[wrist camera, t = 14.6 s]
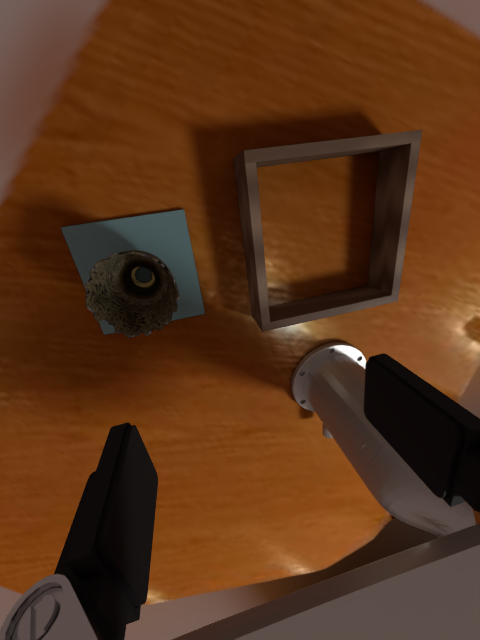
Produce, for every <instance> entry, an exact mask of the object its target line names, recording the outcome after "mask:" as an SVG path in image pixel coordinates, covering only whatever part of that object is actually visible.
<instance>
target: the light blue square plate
mask: <svg viewBox="0 0 480 640" xmlns="http://www.w3.org/2000/svg"><path fill="white" fill-rule="evenodd" d="M61 230H62V232H63V235H64V237H65V240H66V242H67V244H68V247H69V249H70V252H71V254H72V257H73V259H74V262H75V264H76V267H77V269H78V272H79V274H80V277H81V279H82V282H83V284H84V285H85V284H86V281H87V280H88V279H89V278H90V277H89V271H90V270H91V269H92V268H93V267H94V265H95V263H96V262H98V261H99V260H101V259H103V258H105V257H108V256H109V255H110V254H112V253H118V252H123V251H130V250H139V251H145V252H148V253H151V254H153V255H155V256H157V257H158V258H159V259H161V260H162V261H163V262H164V263H165V264H166V265H167V267H168V268H169V269H170V271H171V273H172V275H173V276H174V278H175V281H176V284H177V286H178V289H179V294H180V297H179V300H178V303H177V306H178V310H177V312H176V313H174V312H173V317H172V320H171V321H173V320H178V319H182V318H187V317H192V316H197V315H202V314H205V311H204V306H203V301H202V296H201V291H200V286H199V281H198V277H197V272H196V267H195V262H194V257H193V252H192V247H191V242H190V237H189V233H188V228H187V223H186V218H185V213H184V209H183V210H176V211H170V212H163V213H156V214H149V215H142V216H135V217H128V218H121V219H115V220H108V221H101V222H94V223H87V224H80V225H73V226H66V227H61ZM151 276H152V275H151V272H150V271H149V270H148V269H146V268H140V269H138V270H137V272H136V278H137V279H138V280H139V281H140V282H148V281H150V279H151ZM86 291H87V289H86ZM99 324H100V326H101V329H102V331H103V334H104V335H106V334H110V333H115V329H114V326H112V325H108V323H107V322H106V321H105V320H103V321H101V322H99Z"/></svg>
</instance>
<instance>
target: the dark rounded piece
mask: <svg viewBox="0 0 480 640" xmlns="http://www.w3.org/2000/svg"><path fill="white" fill-rule="evenodd" d="M140 268H146V269H148V270H149V271H150V272H151V275H152V276H151V279H150V281H148V282H140V281H139V280H138V279H137V278H136V272H137V270H138V269H140ZM89 277H90V278H89V279H88V280H87V281H86V284H85V285H84V288H85V289H87V294H86V296H85V302H86V307H87V308H88V309H89V310H90V311H91V312H92V313H93V314H94V318H95V320H96V321H97V322H101V321H103V320H105V321H106V322H107V323H108V325H112V326H114V329H115V333H117V334H120V333H121V332H123V333H124V334H125V335H126V336H127V337H129V338H132V337H135V336H137V335H139V334H140V333H144V334H145V335H146V336H148V335H150V334H151V333H152V330H153V329H156V330H157V329H158V330H161V329H163V327H164V325H166V324H169V323H170V322H171V320H172V317H173V312H174V313H176V312H177V310H178V306H177V303H178V300H179V297H180V294H179V289H178V286H177V284H176V281H175V278H174V276H173V275H172V273H171V271H170V269H169V268H168V267H167V265H166V264H165V263H164V262H163V261H162V260H161V259H159V258H158V257H157V256H155V255H153V254H151V253H148V252H145V251H139V250H130V251H123V252H118V253H112V254H110V255H109V256H108V257H105V258H103V259H101V260H99V261H98V262H96V263H95V265H94V267H93V268H92V269H91V270H90V271H89Z"/></svg>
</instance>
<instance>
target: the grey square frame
mask: <svg viewBox="0 0 480 640" xmlns="http://www.w3.org/2000/svg"><path fill="white" fill-rule="evenodd" d="M421 134H422V130H417V131H408V132H399V133H391V134H382V135H373V136H365V137H356V138H347V139H339V140H330V141H321V142H312V143H304V144H295V145H286V146H278V147H269V148H260V149H252V150H244V151H243V152H241V153H240V154H239V155H238V156H236V157H235V158H234V167H235V176H236V184H237V192H238V201H239V209H240V217H241V226H242V234H243V243H244V251H245V259H246V268H247V276H248V284H249V293H250V301H251V309H252V317H253V319H254V320H255V321H256V323H257V324H258V326H259V327H260V329H261V330H262V332H264V331H268V330H273V329H277V328H281V327H286V326H290V325H295V324H299V323H303V322H308V321H312V320H317V319H321V318H326V317H330V316H334V315H339V314H343V313H348V312H352V311H356V310H361V309H365V308H370V307H374V306H378V305H383V304H387V303H392V302H396V301H398V295H399V288H400V281H401V274H402V267H403V260H404V253H405V246H406V239H407V232H408V225H409V218H410V211H411V204H412V197H413V190H414V183H415V176H416V169H417V162H418V155H419V148H420V141H421ZM374 152H379V162H378V173H377V185H376V196H375V208H374V219H373V231H372V243H371V254H370V266H369V277H368V286H363V287H358V288H354V289H349V290H344V291H339V292H335V293H330V294H325V295H321V296H316V297H311V298H306V299H302V300H297V301H292V302H288V303H283V304H278V305H273V306H269V304H268V292H267V281H266V270H265V258H264V247H263V236H262V224H261V213H260V201H259V190H258V179H257V167H263V166H271V165H279V164H287V163H295V162H303V161H310V160H318V159H326V158H334V157H342V156H350V155H358V154H366V153H374Z"/></svg>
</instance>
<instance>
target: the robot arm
mask: <svg viewBox="0 0 480 640" xmlns="http://www.w3.org/2000/svg"><path fill="white" fill-rule="evenodd" d="M291 390H292V394H293V396H294V398H295V400H296V401H297V403H298V404H299V405H300V406H301V407H303V408H305V409H306V410H309V411H314V412H316V413H317V415H318V416H319V418H320V419H321V421H322V422H323V435H324V436H325V437H326V438H334V439H335V441H336V442H337V444H338V445H339V447H340V448H341V450H342V451H343V453H344V454H345V456H346V457H347V459H348V460H349V461H350V463H351V464H352V466H353V467H354V469H355V470H356V472H357V473H358V475H359V476H360V478H361V479H362V480H363V482H364V483H365V485H366V486H367V488H368V489H369V490H370V492H371V493H372V495H373V496H374V498H375V499H376V500H377V501H378V503H379V504H380V505H381V506H382V507H383V508H384V509H385V510H386V511H388V512H389V513H390V514H391V515H393V516H394V517H396V518H398V519H399V520H401V521H404V522H405V523H408V524H410V525H412V526H415V527H418V528H420V529H423V530H426V531H429V532H431V533H434V534H436V535H437V536H438V537H439V538H438V539H435V540H432V541H430V542H427V543H424V544H422V545H419V546H416V547H413V548H411V549H408V550H405V551H403V552H400V553H397V554H395V555H392V556H389V557H386V558H384V559H381V560H378V561H376V562H373V563H370V564H368V565H365V566H362V567H360V568H357V569H354V570H352V571H349V572H346V573H344V574H341V575H338V576H336V577H333V578H330V579H328V580H325V581H322V582H320V583H317V584H314V585H312V586H309V587H307V588H304V589H301V590H298V591H296V592H293V593H290V594H288V595H285V596H283V597H280V598H278V599H275V600H272V601H269V602H267V603H264V604H262V605H259V606H256V607H254V608H251V609H249V610H246V611H244V612H241V613H238V614H235V615H233V616H230V617H228V618H225V619H222V620H220V621H217V622H215V623H212V624H209V625H207V626H204V627H202V628H199V629H197V630H194V631H192V632H190V633H187V634H185V635H182V636H180V637H177V638H175V639H173V640H480V419H479V418H478V417H476V416H475V415H473V414H472V413H470V412H469V411H468V410H466V409H464V408H463V407H461V406H460V405H459V404H458V403H456V402H455V401H453V400H452V399H450V398H449V397H447V396H446V395H445V394H443V393H442V392H440V391H439V390H437V389H436V388H434V387H433V386H432V385H430V384H429V383H427V382H426V381H424V380H423V379H421V378H420V377H419V376H417V375H416V374H414V373H413V372H411V371H410V370H408V369H407V368H406V367H404V366H403V365H401V364H400V363H398V362H397V361H395V360H394V359H393V358H391V357H390V356H388V355H387V354H379V355H376V356H372V357H370V358H369V360H368V362H366V359H365V357H364V355H363V354H362V353H361V352H360V351H359V350H358V349H357V348H356V347H354V346H353V345H351V344H348V343H344V342H332V343H327V344H324V345H322V346H319V347H318V348H316V349H314V350H312V351H311V352H310V353H308V354H307V355H306V356H305V357H304V358H303V359H302V360H301V361H300V363H299V364H298V366H297V367H296V369H295V371H294V373H293V376H292V380H291ZM157 487H158V476H157V472H156V470H155V468H154V465H153V463H152V461H151V459H150V456H149V454H148V452H147V450H146V448H145V445H144V443H143V441H142V439H141V436H140V434H139V432H138V430H137V427H136V426H135V425H133V426H131V425H130V423H124V424H121V425H117V426H113V427H112V428H111V429H110V431H109V434H108V437H107V440H106V443H105V446H104V449H103V452H102V455H101V458H100V461H99V464H98V467H97V470H96V471H95V472H93V473H92V474H91V475H90V476H89V479H88V481H87V484H86V486H85V489H84V492H83V495H82V498H81V500H80V503H79V506H78V509H77V512H76V514H75V517H74V520H73V523H72V525H71V528H70V531H69V534H68V537H67V539H66V542H65V545H64V548H63V551H62V553H61V556H60V559H59V562H58V565H57V567H56V570H55V573H54V575H50V576H47V577H45V578H44V579H42V580H40V581H38V582H37V583H36V584H34V585H33V586H32V587H31V588H30V589H28V590H27V591H26V592H25V593H24V594H23V596H22V597H21V598H20V599H19V600H18V601H17V602H16V604H15V605H14V607H13V608H12V610H11V611H10V612H9V614H8V615H7V617H6V619H5V621H4V623H3V626H2V627H1V629H0V640H124V637H125V630H126V624H129V623H132V622H134V621H137V620H139V617H140V607H141V605H142V604H144V603H145V602H146V599H147V593H148V583H149V572H150V561H151V551H152V540H153V530H154V519H155V508H156V498H157Z"/></svg>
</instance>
